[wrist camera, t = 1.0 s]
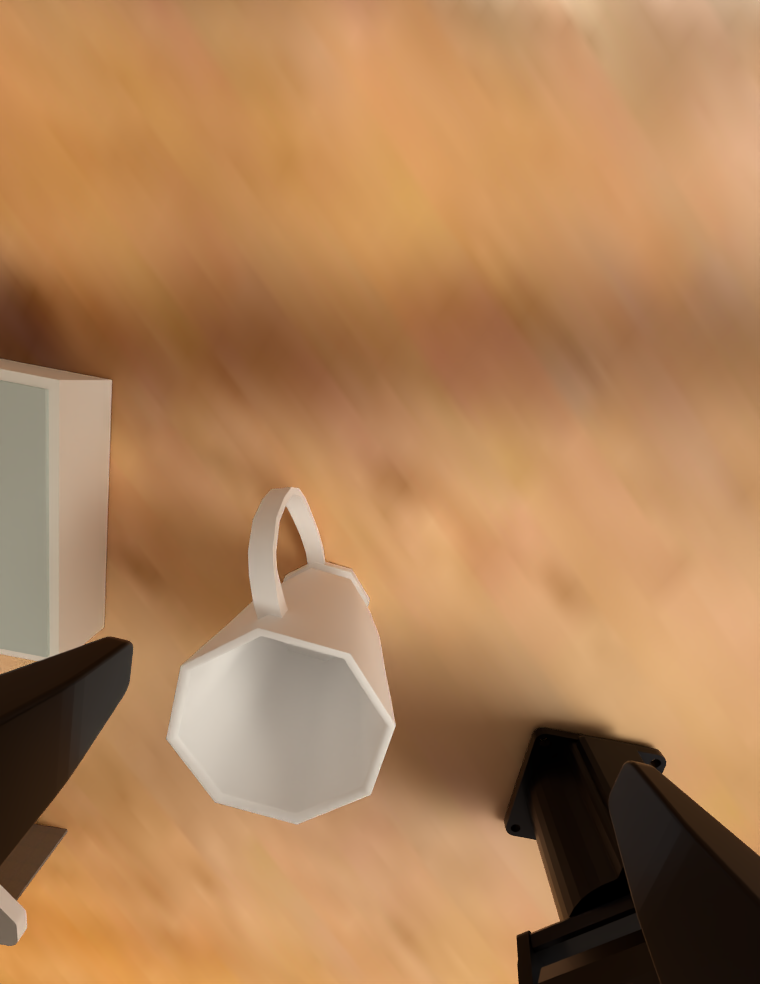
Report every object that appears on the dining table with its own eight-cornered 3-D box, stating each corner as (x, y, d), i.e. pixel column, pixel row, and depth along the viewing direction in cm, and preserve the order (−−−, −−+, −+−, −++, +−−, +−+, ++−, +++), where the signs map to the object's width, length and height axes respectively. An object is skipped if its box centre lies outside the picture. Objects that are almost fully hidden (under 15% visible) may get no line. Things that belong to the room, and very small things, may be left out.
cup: (264, 671, 22) (189, 831, 14) (225, 475, 20) (109, 540, 12) (404, 661, 22) (407, 822, 14) (382, 459, 19) (369, 515, 11)
